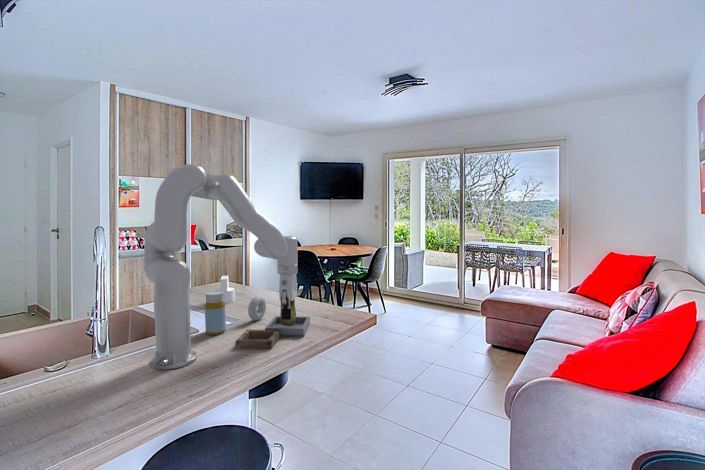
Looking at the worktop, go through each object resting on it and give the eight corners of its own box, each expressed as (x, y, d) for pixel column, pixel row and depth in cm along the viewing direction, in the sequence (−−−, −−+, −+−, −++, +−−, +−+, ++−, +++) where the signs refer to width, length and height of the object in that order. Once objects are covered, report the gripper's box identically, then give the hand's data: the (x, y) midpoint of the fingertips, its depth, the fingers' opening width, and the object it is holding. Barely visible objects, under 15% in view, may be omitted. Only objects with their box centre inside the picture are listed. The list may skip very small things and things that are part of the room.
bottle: (229, 332, 136) (228, 292, 135) (211, 337, 131) (209, 296, 129) (220, 327, 141) (219, 289, 139) (202, 332, 135) (201, 292, 134)
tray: (303, 336, 131) (303, 328, 131) (265, 336, 132) (265, 328, 131) (310, 324, 145) (310, 316, 145) (275, 323, 146) (275, 316, 145)
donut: (253, 324, 145) (253, 299, 144) (246, 323, 146) (245, 298, 145) (268, 317, 154) (267, 293, 153) (261, 316, 155) (260, 293, 154)
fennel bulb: (280, 327, 135) (279, 295, 134) (280, 323, 140) (280, 292, 139) (296, 327, 136) (295, 295, 135) (296, 322, 141) (295, 292, 140)
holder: (271, 348, 120) (271, 341, 120) (235, 348, 120) (235, 340, 120) (279, 336, 131) (279, 330, 131) (247, 336, 131) (246, 329, 131)
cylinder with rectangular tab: (216, 299, 182) (215, 276, 181) (235, 298, 185) (234, 275, 184) (214, 304, 174) (213, 279, 173) (234, 303, 176) (233, 278, 175)
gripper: (292, 273, 128) (293, 324, 129) (301, 265, 144) (302, 310, 146) (271, 273, 128) (272, 324, 129) (283, 265, 145) (283, 310, 146)
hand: (288, 316), depth 138 cm, fingers closed on fennel bulb, 4 cm apart
